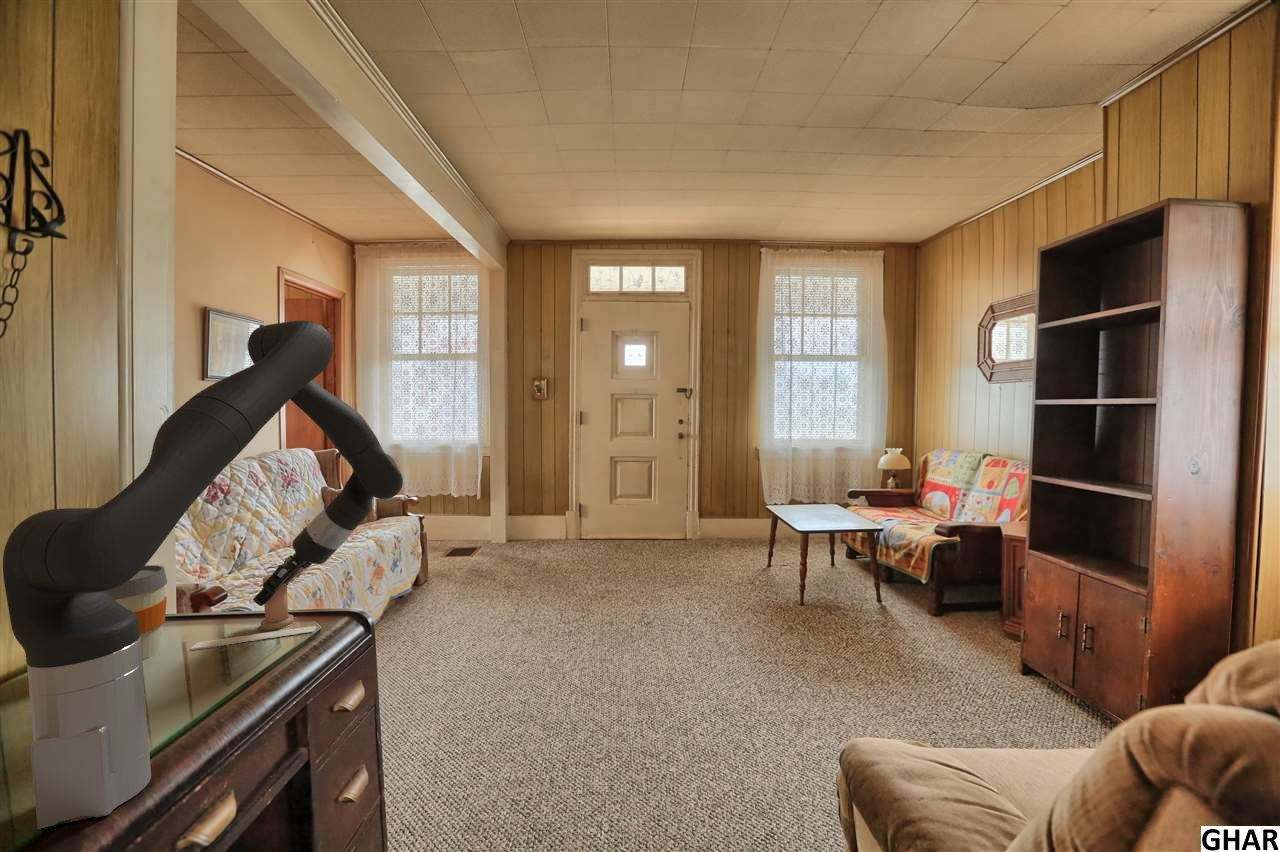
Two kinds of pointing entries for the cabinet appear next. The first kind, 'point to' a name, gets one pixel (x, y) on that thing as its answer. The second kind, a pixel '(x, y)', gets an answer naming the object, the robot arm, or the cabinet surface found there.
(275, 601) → the pin
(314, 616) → the cabinet surface
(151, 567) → the reusable coffee cup
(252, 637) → the strip
